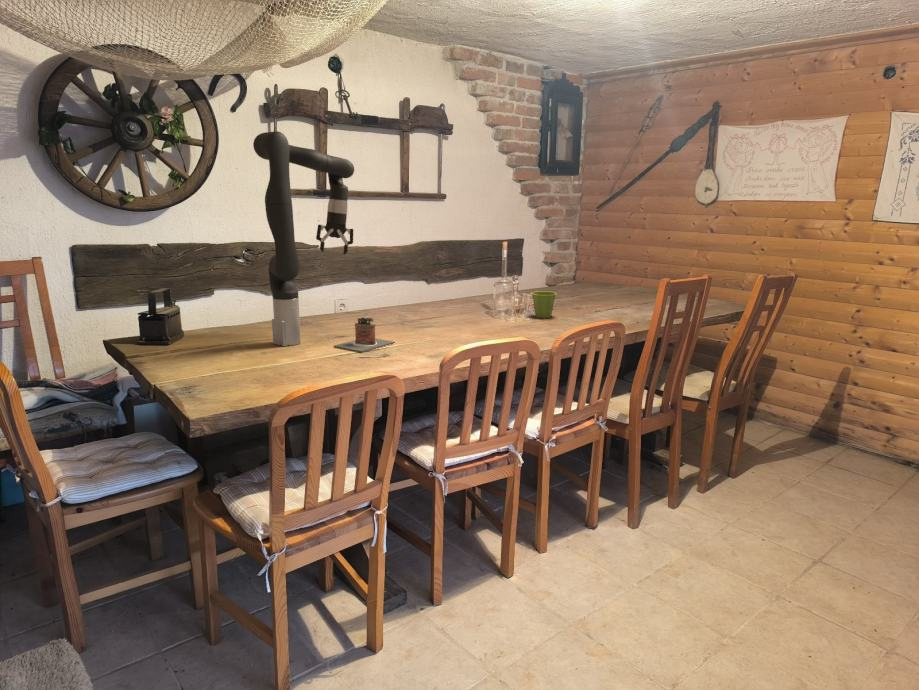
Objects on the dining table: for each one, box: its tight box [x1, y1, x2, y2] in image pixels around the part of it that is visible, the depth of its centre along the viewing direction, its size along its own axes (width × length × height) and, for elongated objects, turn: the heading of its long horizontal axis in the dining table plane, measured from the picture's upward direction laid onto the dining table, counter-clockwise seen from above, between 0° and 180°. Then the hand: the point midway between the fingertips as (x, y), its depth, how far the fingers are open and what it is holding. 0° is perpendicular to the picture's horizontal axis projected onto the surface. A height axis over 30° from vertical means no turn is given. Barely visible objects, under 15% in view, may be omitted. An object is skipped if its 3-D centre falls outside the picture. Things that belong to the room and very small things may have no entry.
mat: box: [333, 337, 396, 354], centre depth 233 cm, size 18×14×1 cm
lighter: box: [354, 316, 376, 345], centre depth 232 cm, size 8×3×10 cm, turn 74°
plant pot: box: [530, 290, 558, 319], centre depth 288 cm, size 12×12×11 cm
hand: (333, 253), depth 249 cm, fingers open, 8 cm apart
